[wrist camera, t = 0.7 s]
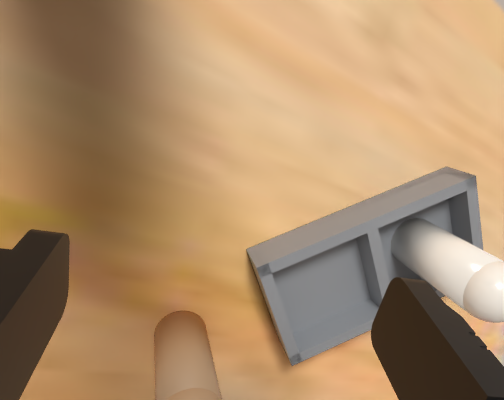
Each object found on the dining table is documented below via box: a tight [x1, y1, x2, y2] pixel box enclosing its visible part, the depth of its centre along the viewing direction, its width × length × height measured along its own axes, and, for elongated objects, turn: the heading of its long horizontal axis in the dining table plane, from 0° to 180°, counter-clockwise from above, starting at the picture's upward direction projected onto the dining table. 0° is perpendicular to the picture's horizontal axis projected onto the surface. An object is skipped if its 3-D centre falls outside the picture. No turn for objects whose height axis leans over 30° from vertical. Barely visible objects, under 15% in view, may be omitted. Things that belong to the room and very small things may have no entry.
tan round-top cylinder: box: [154, 311, 222, 400], centre depth 29 cm, size 4×4×11 cm
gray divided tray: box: [246, 167, 483, 366], centre depth 35 cm, size 10×20×4 cm, turn 108°
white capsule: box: [391, 218, 504, 323], centre depth 31 cm, size 4×4×11 cm
